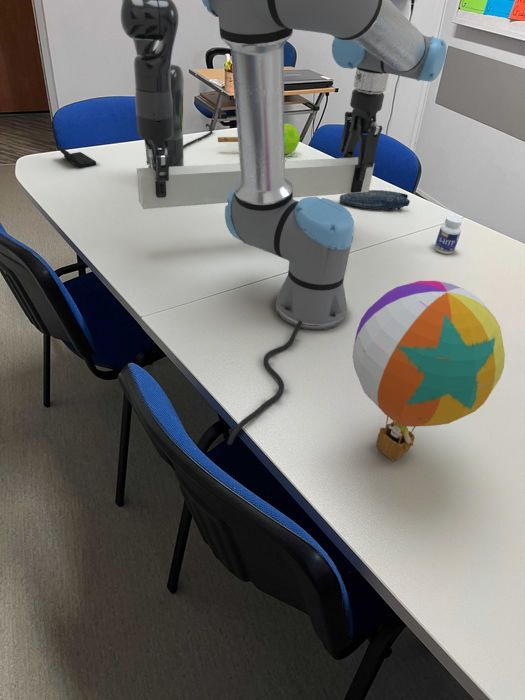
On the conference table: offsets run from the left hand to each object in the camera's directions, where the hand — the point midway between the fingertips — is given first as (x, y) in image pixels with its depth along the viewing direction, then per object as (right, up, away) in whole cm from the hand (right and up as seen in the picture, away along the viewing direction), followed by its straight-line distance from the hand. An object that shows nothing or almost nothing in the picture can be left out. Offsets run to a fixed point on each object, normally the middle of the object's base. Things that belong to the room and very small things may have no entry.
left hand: (158, 191), depth 118 cm
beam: (+23, +2, +10) cm, 25 cm away
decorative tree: (+22, +36, +73) cm, 84 cm away
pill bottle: (+73, -9, +23) cm, 77 cm away
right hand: (+47, +7, +18) cm, 50 cm away
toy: (+44, -52, -35) cm, 77 cm away
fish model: (+58, +8, +43) cm, 72 cm away
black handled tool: (-38, +26, +53) cm, 70 cm away
